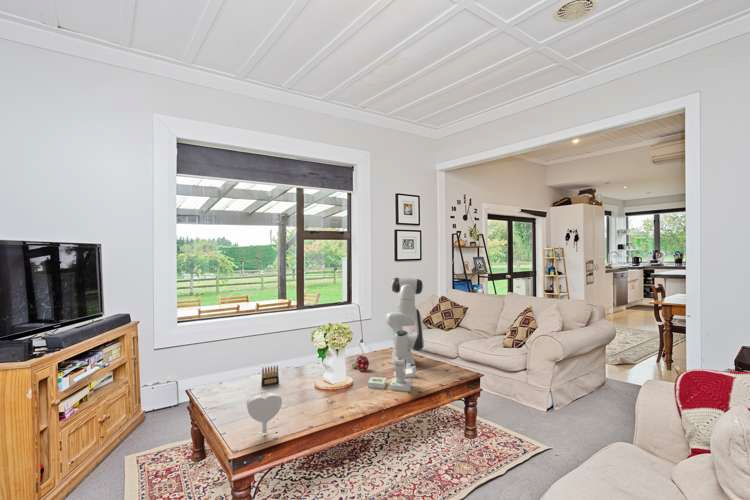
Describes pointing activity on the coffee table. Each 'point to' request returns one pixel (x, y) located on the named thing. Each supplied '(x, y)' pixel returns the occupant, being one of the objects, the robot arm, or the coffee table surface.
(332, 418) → the coffee table surface
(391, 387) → the port
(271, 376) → the ammunition clip
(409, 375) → the bracket
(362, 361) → the dark red lumpy cluster
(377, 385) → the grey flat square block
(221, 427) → the coffee table surface
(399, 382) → the plug
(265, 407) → the heart sculpture
